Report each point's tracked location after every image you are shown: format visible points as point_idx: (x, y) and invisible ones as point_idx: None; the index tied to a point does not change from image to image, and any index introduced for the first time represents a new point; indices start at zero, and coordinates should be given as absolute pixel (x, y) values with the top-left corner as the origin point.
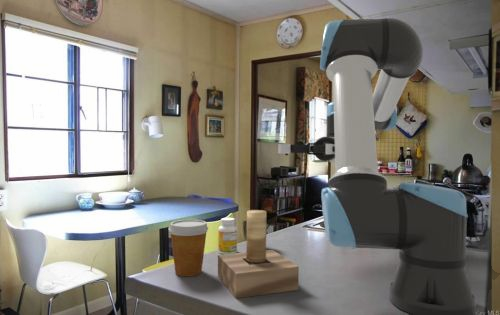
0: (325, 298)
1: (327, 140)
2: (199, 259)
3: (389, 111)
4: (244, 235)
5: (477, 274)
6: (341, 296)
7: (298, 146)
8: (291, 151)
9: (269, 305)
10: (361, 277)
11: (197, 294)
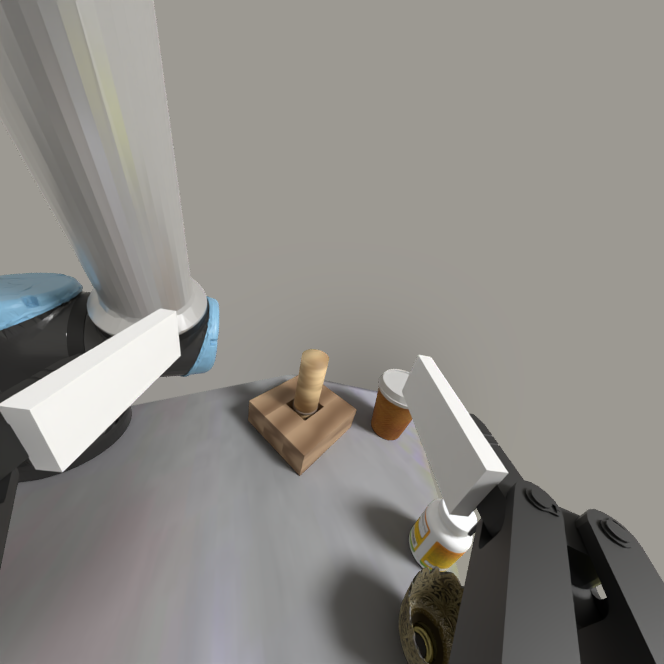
0: (215, 410)
1: None
2: (374, 411)
3: None
4: (441, 596)
5: None
6: (194, 419)
7: (493, 615)
8: (478, 548)
9: (269, 385)
10: (133, 505)
11: (335, 387)
